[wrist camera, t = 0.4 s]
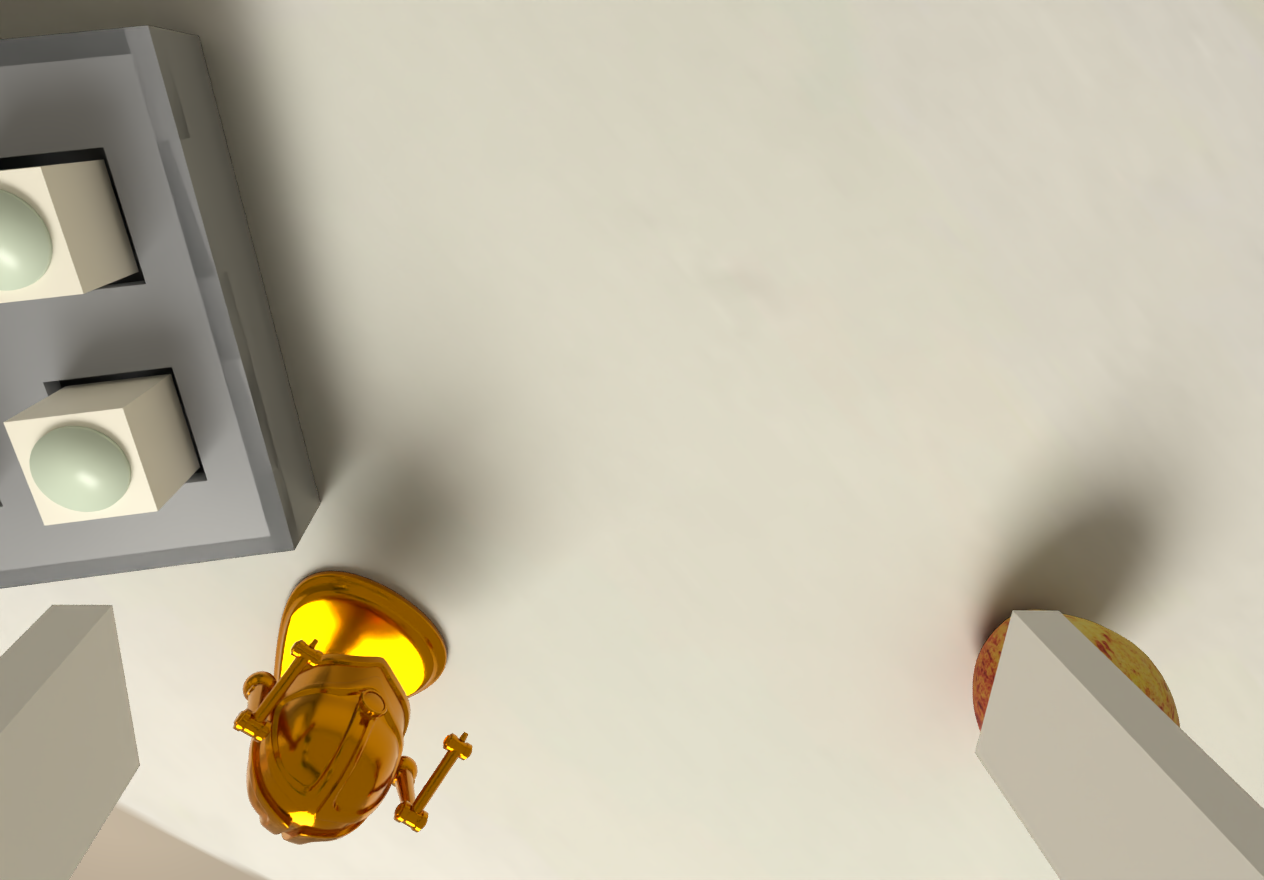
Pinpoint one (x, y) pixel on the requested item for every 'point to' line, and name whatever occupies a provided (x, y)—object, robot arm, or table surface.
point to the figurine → (341, 710)
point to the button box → (149, 309)
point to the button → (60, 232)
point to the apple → (1104, 639)
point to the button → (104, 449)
